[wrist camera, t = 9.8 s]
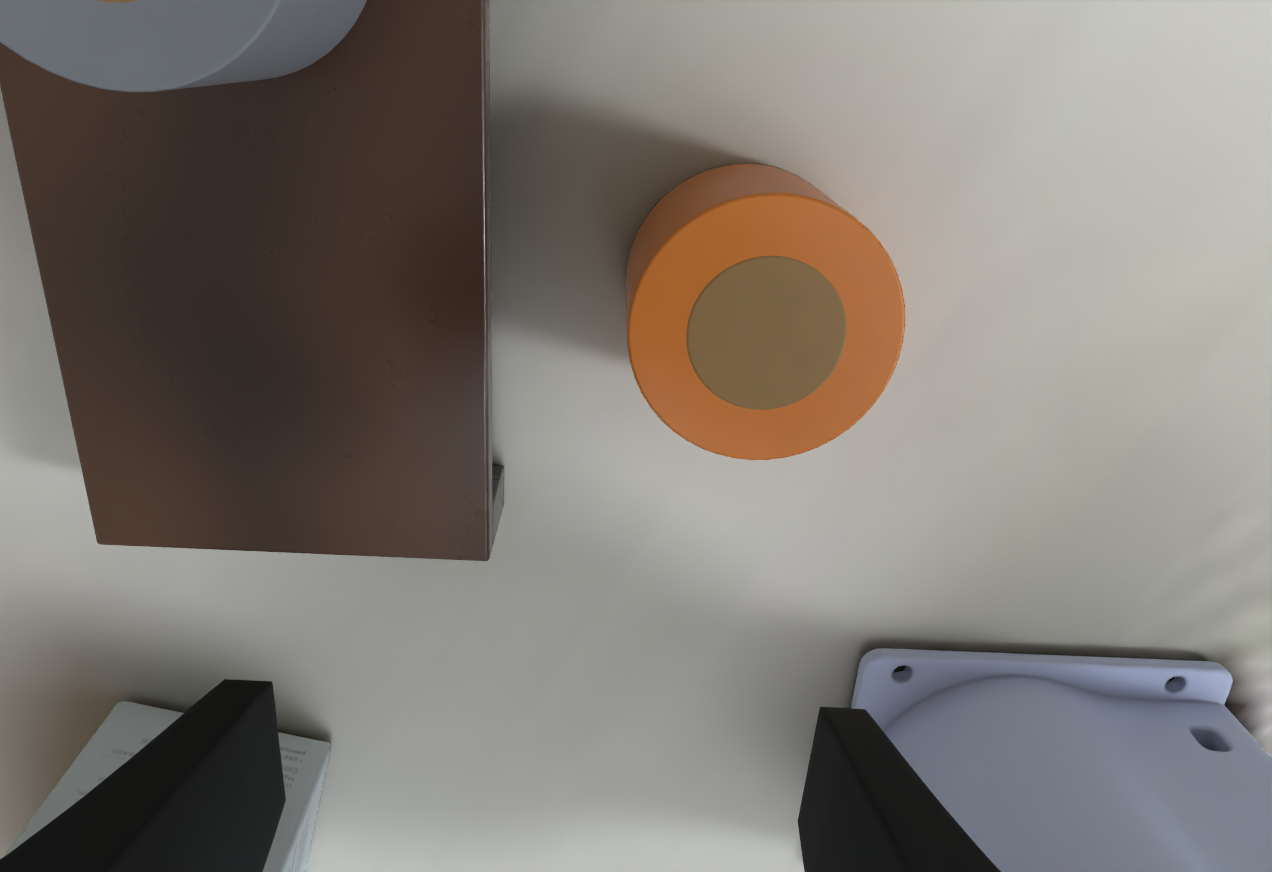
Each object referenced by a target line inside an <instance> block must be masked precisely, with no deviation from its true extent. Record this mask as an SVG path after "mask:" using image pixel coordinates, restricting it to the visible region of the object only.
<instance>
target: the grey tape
mask: <svg viewBox="0 0 1272 872" xmlns="http://www.w3.org/2000/svg"><path fill="white" fill-rule="evenodd" d="M366 1H367V0H0V42H1V43H2V44H4V45H5V46H7V47H8V48H10V49H11V50H13V51H14V52H16V53H17V54H19V55H20V56H21V57H23V58H24V59H26V60H28V61H30V62H32V63H34V64H36V65H38V66H40V67H41V68H43V69H45V70H47V71H49V72H51V73H54V74H56V75H59V76H61V77H64V78H66V79H69V80H72V81H74V82H77V83H81V84H85V85H89V86H92V87H96V88H100V89H106V90H114V91H122V92H156V91H165V90H174V89H183V88H192V87H201V86H210V85H219V84H228V83H237V82H246V81H255V80H263V79H270V78H276V77H281V76H284V75H287V74H290V73H294V72H297V71H299V70H301V69H303V68H305V67H307V66H309V65H311V64H313V63H314V62H316V61H317V60H319V59H320V58H322V57H323V56H325V55H326V54H328V53H329V52H330V51H331V50H332V49H333V48H334V47H335V46H336V45H337V44H338V43H339V42H340V41H341V40H342V39H343V38H344V37H345V35H346V34H347V33H348V32H349V30H350V29H351V28H352V27H353V25H354V24H355V22H356V20H357V18H358V17H359V15H360V13H361V11H362V10H363V8H364V6H365V3H366Z"/></svg>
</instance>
